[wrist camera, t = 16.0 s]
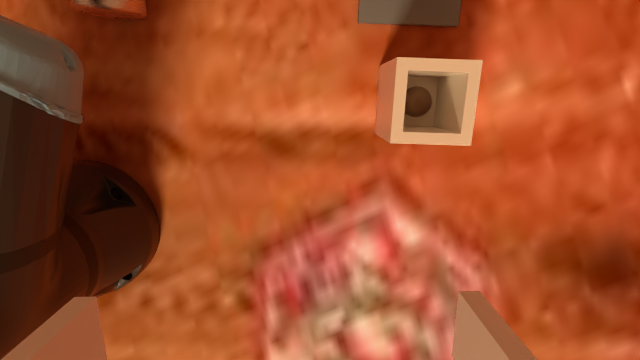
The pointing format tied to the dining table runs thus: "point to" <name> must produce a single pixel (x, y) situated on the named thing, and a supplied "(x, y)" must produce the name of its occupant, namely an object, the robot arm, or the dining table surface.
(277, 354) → the dining table surface
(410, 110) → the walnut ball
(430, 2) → the felt pad
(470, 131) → the cup
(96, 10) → the silver round cylinder
